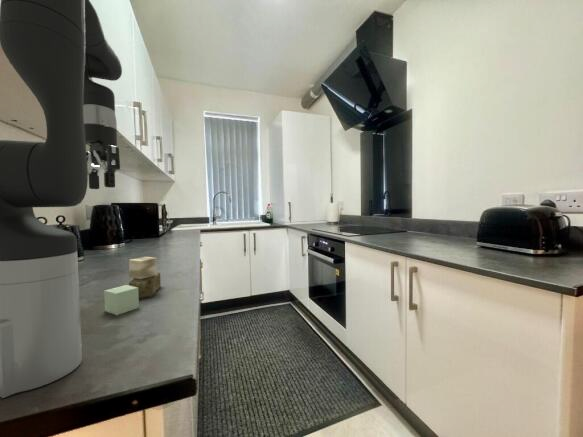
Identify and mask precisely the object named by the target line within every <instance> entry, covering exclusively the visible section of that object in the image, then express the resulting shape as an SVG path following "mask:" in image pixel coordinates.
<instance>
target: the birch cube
mask: <svg viewBox="0 0 583 437" xmlns="http://www.w3.org/2000/svg"><path fill="white" fill-rule="evenodd" d="M128 267H129V270H128V271H129V278H131V279H134V278H135V279H144V278H148V277H152V276H156V275H157V272H158V257H151V256H143V257H138V258H131V259H128Z"/></svg>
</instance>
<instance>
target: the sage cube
mask: <svg viewBox="0 0 583 437" xmlns="http://www.w3.org/2000/svg"><path fill="white" fill-rule="evenodd" d="M103 293H104V312H106V313H109V314H112V315H115V316H119V315H122V314H125V313H127V312H131V311H133V310H136V309H139V307H140V306H139V304H140V303H139V302H140V301H139V300H140V298H139V296H138V287H133V286H129V284H124V285H121V286H117V287H113V288H109V289H106V290H104V291H103Z"/></svg>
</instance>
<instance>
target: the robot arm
mask: <svg viewBox="0 0 583 437" xmlns="http://www.w3.org/2000/svg"><path fill="white" fill-rule="evenodd" d="M98 14H99V13H98V12H97V10H96V9H95V7H94V5H93V4H92V2H91V1H90V0H0V46H1V49H2V52H3V53H4V55H5V56H6V58H7V60H8V62H9V63H10V65H11V66H12V68H13V69H14V70H15V71H16V73H17V74H18V76H19V77H20V78H21V80H22V81H23V82H24V83H25V85H26V86H27V87H28V88H29V90H30V91H31V93H32V94H33V96H34V97H35V98H36V100H37V101H38V103H39V104H40V107H41V108H42V110H43V114H44V118H45V125H46V139H45V142H44V141H29V140H28V141H27V140H9V139H8V140H7V139H0V398H1V399H4V398H8V397H9V396H12V395H14V394H17V393H22V392H26V391H30V390H33V389H37V388H41V387H43V386H46V385H48V384H51V383H53V382H56V381H57V380H60V379H61V378H63V377H65V376H67V375H69V374H70V373H71V372H73V371H74V370H76V369H77V368H78V367H79V365H81V363H82V361H83V353H82V352H83V351H82V350H83V345H82V330H81V329H82V328H81V327H82V326H81V306H80V305H81V304H80V284H79V280H80V279H79V260H78V258H79V257H78V240H77V236H76V235H75V234H74V232H71V231H68V230H65V229H61V228H58V227H57V228H56V227H53V226H51V225H48V224H46V223H44V222H42V221H41V220H40V219H38V218H37V217H36V215H35V212H34V208H68V207H69V208H70V207H75V206H78V205H80V204H81V203H82V202H83V200H84V199H85V197H86V195H87V192H88V191H87V189H88V188H89V189H90V190H99V189H100V173H101V170H103V181H104V182H103V185H104V187H105V188H115V187H116V176H115V175H116V173H117V170H120V169H121V162H120V149H119V146H118V128H117V127H118V125H117V118H116V104H115V103H116V100H115V94H114V91H113V90H112V89H111V88H110V87H108V86H106V85H103V84H100V83H97V82H95V81H93V80H92V79H100V80H106V81H114V82H115V81H118V80H120V78H121V77H122V74H123V67H122V64H121V61H120V59H119V57H118V55H117V53H116V52H115V50H114V49H113V48H112V46H111V44H110V43H109V41H108V40H107V38H106V35H105V33H104V30H103V26H102V23H101V19H100V17H99V15H98ZM87 145H88V146H89V151H87Z"/></svg>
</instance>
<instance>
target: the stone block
mask: <svg viewBox="0 0 583 437" xmlns="http://www.w3.org/2000/svg"><path fill="white" fill-rule="evenodd" d="M128 285H129V286H133V287H138V296H139V299H146V298H151V297H152V296H153V295H154V294H155V293H156V292H157V291H156V290H159V288H160V287H161V273H160V272H158V271H157V275H156V276H152V277H148V278H144V279H135V278H132V280H131V281H129V282H128Z"/></svg>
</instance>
